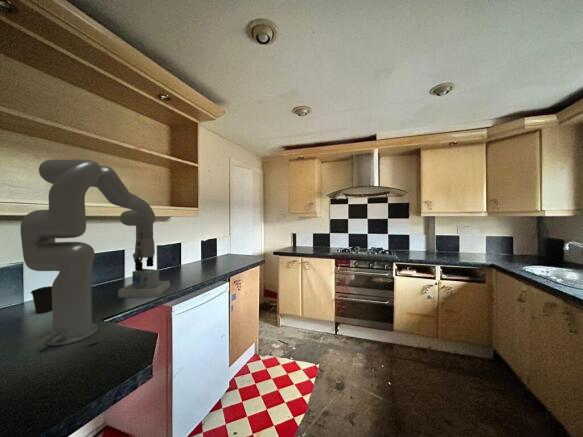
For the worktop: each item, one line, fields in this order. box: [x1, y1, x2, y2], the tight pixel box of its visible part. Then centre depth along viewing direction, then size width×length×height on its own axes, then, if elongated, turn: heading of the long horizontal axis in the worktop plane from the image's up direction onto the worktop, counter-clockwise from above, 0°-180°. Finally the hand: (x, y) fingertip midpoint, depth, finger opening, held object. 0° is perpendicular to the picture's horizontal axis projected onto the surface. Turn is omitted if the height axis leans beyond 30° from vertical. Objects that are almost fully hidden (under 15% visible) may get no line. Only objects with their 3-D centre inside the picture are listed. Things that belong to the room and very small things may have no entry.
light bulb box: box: [131, 268, 160, 289], centre depth 118 cm, size 11×7×11 cm, turn 75°
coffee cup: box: [30, 285, 52, 315], centre depth 97 cm, size 8×8×10 cm
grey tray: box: [117, 280, 171, 299], centre depth 118 cm, size 14×18×4 cm
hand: (144, 268), depth 118 cm, fingers open, 9 cm apart
